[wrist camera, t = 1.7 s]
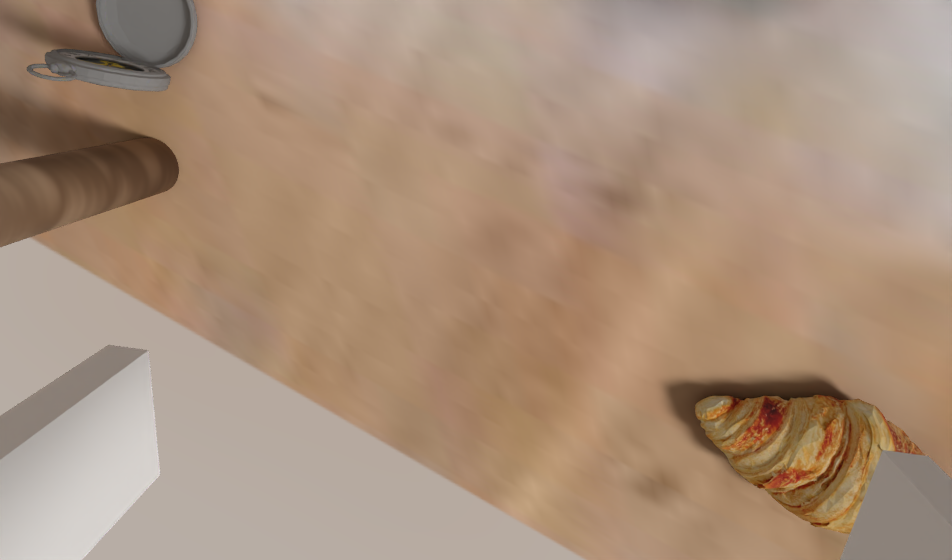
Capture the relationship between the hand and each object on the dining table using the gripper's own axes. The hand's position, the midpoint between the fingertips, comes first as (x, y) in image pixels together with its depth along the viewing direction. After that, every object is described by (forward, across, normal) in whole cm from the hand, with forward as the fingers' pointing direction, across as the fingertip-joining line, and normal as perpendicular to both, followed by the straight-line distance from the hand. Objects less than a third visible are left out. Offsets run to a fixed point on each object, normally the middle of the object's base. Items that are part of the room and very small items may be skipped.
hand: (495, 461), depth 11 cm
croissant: (+34, +25, -18) cm, 46 cm away
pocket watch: (+33, -26, +6) cm, 43 cm away
